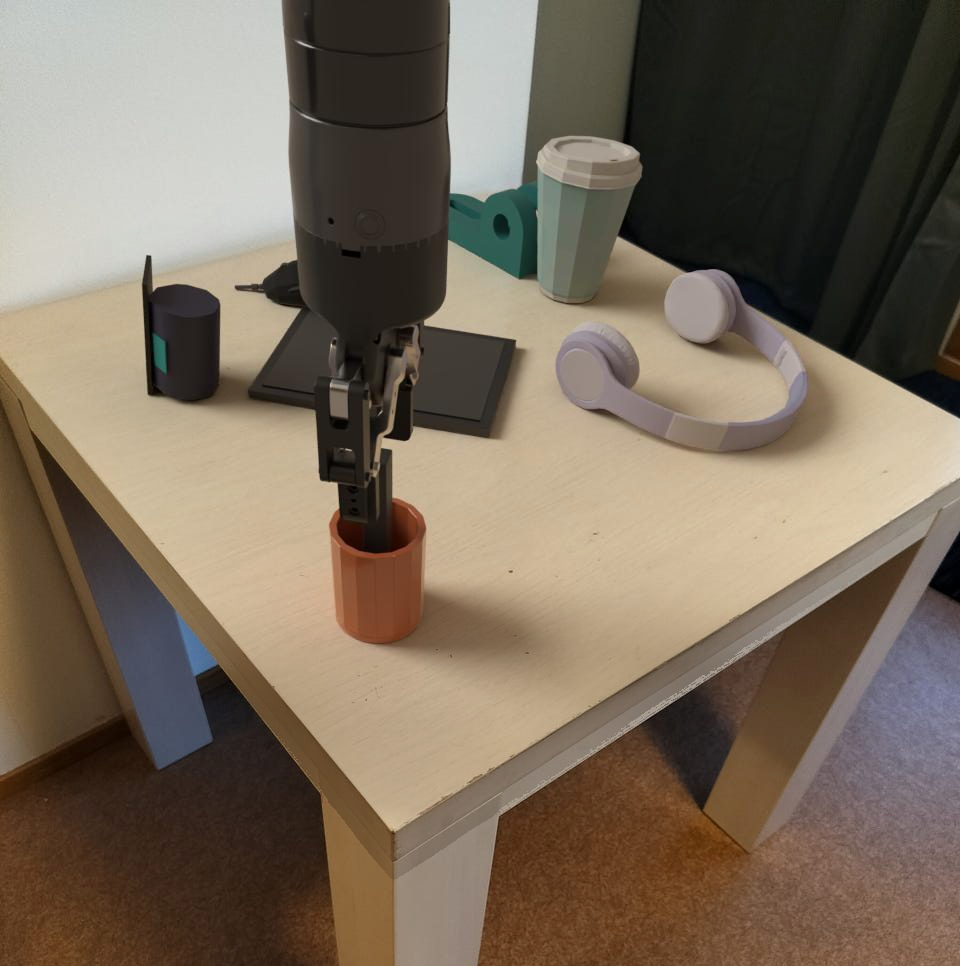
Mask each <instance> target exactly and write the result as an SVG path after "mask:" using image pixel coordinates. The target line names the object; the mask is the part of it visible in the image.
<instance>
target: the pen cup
mask: <svg viewBox="0 0 960 966" xmlns="http://www.w3.org/2000/svg"><path fill="white" fill-rule="evenodd" d="M424 517H425V516H424V515H423V514H422V513H421V512H420V511H419V510H418V509H417V508H416V507H415V505H413V504H411V503H408V502H406V501H405V500H403V499H400V498H397V497H392V528H393V552H389V553H379V554H374V553H368V552H364V549H363V524H357V523H351V522H346V521H344V520H343V519H342V518H341V517H340V513H339V508H338V509H336V510H335V511H334V512H333V514H332V517H331V519H330V521H329V523H328V532H329V535H328V536H329V546H330V559H331V560H330V561H331V563H330V564H331V574H332V575H331V576H332V590H333V592H332V593H333V605H334V612H335V613H334V614H335V618H336V621H337V624H338V625H339V628H341V629H342V631H344V633H346V634H347V635H349V636H350V637H352V638H353V639H356V640H358V641H361V642H365V643H369V644H388V643H394V642H396V641H400V640H403V639H404V638H406V637H408V636H409V635H411V634H412V633H413V632H414V631H415V630H416V629H417V628H418V627H419V625H420V623H421V621H422V619H423V616H424V615H423V613H424V607H425V606H424V605H425V582H426V581H425V580H426V553H427V551H426V550H427V549H426V548H427V525H426V521H425V518H424Z"/></svg>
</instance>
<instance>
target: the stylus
mask: <svg viewBox="0 0 960 966" xmlns="http://www.w3.org/2000/svg"><path fill="white" fill-rule="evenodd" d="M379 462H380V469H379V509H380V514H379V517H378V519H377V522H376V523H375V524H374V525H371V526H369V525H363V549H364V552H368V553H374V554H379V553H389V552H393V528H392V498H393V449H391V448H385V447H381V452H380V459H379Z"/></svg>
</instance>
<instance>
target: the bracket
mask: <svg viewBox="0 0 960 966" xmlns="http://www.w3.org/2000/svg"><path fill="white" fill-rule="evenodd" d="M537 213H538V180H535V181H532V182H528V183H526V184H522V185H520V186H518V187H517V188H509V189H505V190H501V191H498V192H495V193H492V194H490V195H489V196H487V198H486V199H485V200H484V201H482V200H480V199H478V198H476V197H473V196H471V195H467V194H464V193H463V194H462V193H457V192H456V193H455V192H454V193H453V192H450V207H449V233H448V241H451V242H453V243H454V244H456V245H458V246H460V247H462V248H464V250H467V251H469V252H470V253H472V254H474V255H476V256H477V257H479V258H481V259H482V260H485V261H486V262H488V263H490V264H491V265H493V266H495V267H496V268H499V269H501V270H502V271H504V272H506V273H508V274H509V275H511V276H513V277H515V278H516V279H518V280H520V279H522V278H525V277H527V276H530V275H533V274H536V273H538V214H537Z"/></svg>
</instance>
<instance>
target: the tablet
mask: <svg viewBox="0 0 960 966" xmlns="http://www.w3.org/2000/svg"><path fill="white" fill-rule="evenodd" d="M337 336H338V334H337V331H336V330H335V329H334V328H333V327H332V326H331V325H330V324H329V323H328V322H327V321H326V320H324V319H323V318H322V317H320V316H318V315H316V314H315V313H314V312H313V311H312V310H311V309H309V307H304V306H301V309H300V310H299V312H298V313H297V315H296V316H295V318H294V319H293V321H292V322H291V324H290V325H289V327H288V328H287V330H286V331H285V332H284V334H283V335H282V338H281V339H280V340H279V342H278V344H277V345H276V346H275V348H274V349H273V351H272V353H271V354H270V355H269V357H268V359H267V360H266V361H265V363H264V365H263V366H262V367H261V370H259V372H258V374H257V375H256V377H255V378H254V380H253V381H252V382H251V384H250V385H249V388H248V389H247V392H248V393H247V394H248V399H249V400H257V401H262V402H268V403H275V404H280V405H287V406H292V407H293V406H294V407H298V408H299V407H300V408H305V409H311V410H315V395H314V383H315V381H316V378H317V376H318V375H325V376H332V371H331V369H330V367H329V354H330V346H331V342H332V339H333V338H334V337H335V338H337ZM516 346H517V339H515V338H507V337H501V336H495V335H490V334H489V335H488V334H483V333H482V334H481V333H475V332H469V331H462V330H456V329H450V328H445V327H444V328H443V327H437V326H431V325H425V324H424V347H425V355H424V356H423V358H422V361H419V365H418V372H419V376H418V380H416V384H415V385H410V386H413V427H414V426H415V427H421V428H426V429H431V430H432V429H433V430H437V431H438V430H439V431H445V432H450V433H457V434H462V435H463V434H464V435H469V436H475V437H482V438H487V439H488V438H490V434H491V432H492V428H493V426H494V422H495V418H496V415H497V412H498V408H499V405H500V401H501V398H502V394H503V391H504V388H505V384H506V382H507V377H508V376H509V375H508V374H509V371H510V368H511V365H512V361H513V358H514V354H515V351H516V348H517V347H516ZM376 416H377V408H376V407H374V406H371V408H370V409H369V417H376Z"/></svg>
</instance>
